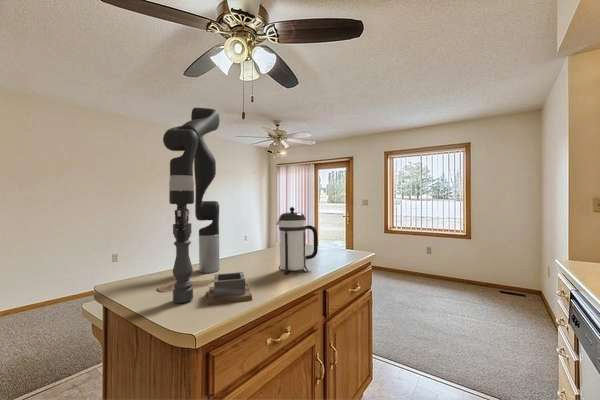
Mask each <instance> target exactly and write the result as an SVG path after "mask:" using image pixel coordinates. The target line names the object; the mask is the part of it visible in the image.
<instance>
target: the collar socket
mask: <svg viewBox="0 0 600 400" xmlns="http://www.w3.org/2000/svg"><path fill="white" fill-rule="evenodd" d="M213 280H214V282H213V283H214V284H213V286H209V289H208V295H207V306H210V305H219V304H220V305H221V304H227V303H228V304H230V303H235V302H236V303H237V302H245V301H246V302H247V301H252V300H253V295H252V292H251V289H250V285H249V283H246V279H245V274H244V272H243V271H240V272H239V271H238V272H230V273H229V272H227V273H217V274H214V279H213Z"/></svg>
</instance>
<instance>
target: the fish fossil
mask: <svg viewBox="0 0 600 400" xmlns="http://www.w3.org/2000/svg"><path fill="white" fill-rule="evenodd" d="M190 281H191V283H192V286H191V287H193V290H194V289H198V288H203V287H208V286H209V287H210V285H211V284H213V283H214V279H205V280H195V281H193V280H190ZM175 283H176V282H173V283H172V282H171V283H170V282H169V283H165V284H162V285H159V286H158V287H157V288H156V290H157V292H159V293H173V290H174V289H175V288H174V284H175Z"/></svg>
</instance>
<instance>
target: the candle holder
mask: <svg viewBox="0 0 600 400" xmlns="http://www.w3.org/2000/svg"><path fill="white" fill-rule="evenodd" d="M179 225H182V224H179ZM191 234H192V223H190V222H188V223H186V224H185V241H184V242H178V241H177V230H176V228H175V223H173V224H172V235H173V237H174V239H175V241H174V242H173V245H174V246H175V259H174V265H173V268H172V275H173V277H174V278H175V282H174V283H175V284H174V288H175V289H174V290H173V292H172V301H173V302H174V303H176V304H177V303H178V304H179V303H186V302H190V301H192V300H193V299H194V289H193V287H191V286H192V283H191V281H192V280H190V279H191V276H192V274H193V272H194V269H193V265H192V261H191V257H190V252H189V251H190V249H189V248H190V245H191V244H192V241H191V240H190V237H191Z"/></svg>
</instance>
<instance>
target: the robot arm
mask: <svg viewBox="0 0 600 400" xmlns="http://www.w3.org/2000/svg"><path fill="white" fill-rule="evenodd" d="M190 118H191V119H190V120H189V121H187V122H185V123H183V124H182V125H179V126H175V127H171V128H169V129H167V130H166V131H165V133H164V134H163V137H162V140H163V142H162V143H163V146H164V147H165V148H166V149H168V150H169V151H172V152H183V153H182V154H181V155H180V156H177V157H174V158H171V159H170V161H169V181H168V182H169V183H168V184H169V185H168V187H169V189H168V192H169V196H168V197H169V200H168V201H169V204H170V205H176V209H175V210H174V217H175V218H174V222H175V223H174V224H175V228H176V230H177V241H178V242H184V241H185V224H186V223H189V222H190V220H189V215H190V209H189V208H187V207H188V206H187V205H193V204H194V205H195V206H194V207H195V209H194V210H195V211H194V212H195V214H194V215H195V219H196V220H197V221H200V222H201V221H202V222H203V221H212V222H211V223H210V224H208V225H206V226H204V227H201V228H199V229H198V265H199V266H198V270H199V273H201V274H202V273H204V274H206V273H207V274H208V273H210V274H211V273H215V272H218V271H220V204H219V202H218V201H217V200H203V198H204V196H205V194H206V191H207V190H208V188H209V186H210V185H211V184H212V182H213V180H214V179H215V177H216V175H217V172H216V171H217V170H216V169H217V167H216V166H217V164H216V163H217V162H216V159H215V157H214V155H213V153H212V151H211V150H210V148H209V147H208V145H207V144H206V141H205V140H204V136H205V135H206V134H209V133H212V132H213V131H217V130H218V128H219V126H220V122H221V121H220V114H219V112H218V110H216V109H214V108H206V107H193V108H192V109H191V117H190ZM193 176H194V177H193ZM194 186H195V187H194ZM179 224H182V225H179Z"/></svg>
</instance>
